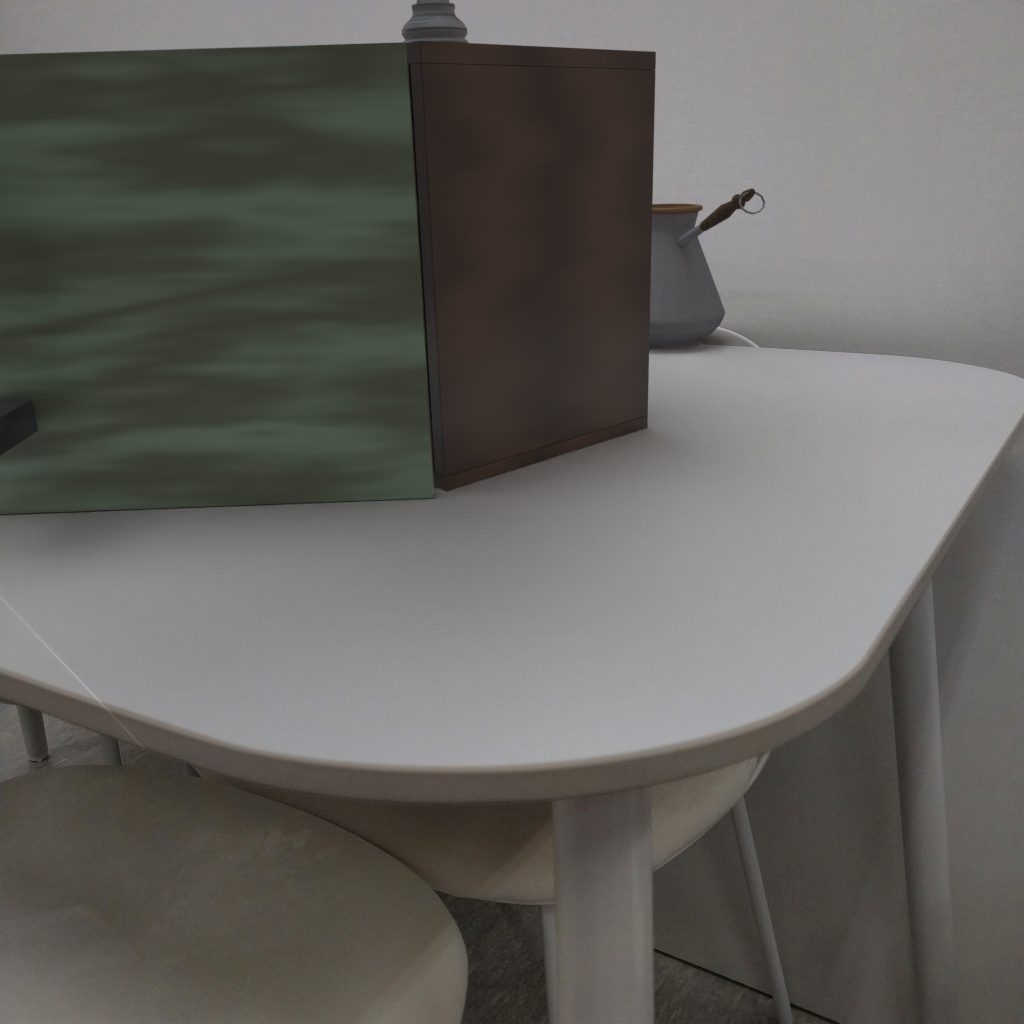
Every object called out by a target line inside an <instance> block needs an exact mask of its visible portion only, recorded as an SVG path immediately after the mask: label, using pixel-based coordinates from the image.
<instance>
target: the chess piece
mask: <svg viewBox="0 0 1024 1024" xmlns="http://www.w3.org/2000/svg"><path fill="white" fill-rule="evenodd" d="M455 4H456V3H453V2H450V0H416V3H413V4H412V5H411V11H412V14H411V17H410V19H408V21H407V22H405V24H404V25H403V27H402V29H401V36H402V37H403V39H404V41H402V42H405V43H409V42H416V41H436V42H457V43H469V41H468V39H466V37H467V35H468V28H467V26H466V25H465V23H464V22H463V21H462V20H461V19H460V18H458V17H457V15H456V12H455V10H456V5H455Z"/></svg>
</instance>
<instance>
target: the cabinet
mask: <svg viewBox="0 0 1024 1024" xmlns="http://www.w3.org/2000/svg"><path fill="white" fill-rule="evenodd" d="M406 44H407V47H408V63H409V79H410V95H411V111H412V128H413V144H414V160H415V176H416V193H417V209H418V225H419V241H420V257H421V274H422V290H423V306H424V322H425V339H426V355H427V371H428V387H429V403H430V420H431V436H432V452H433V468H434V485H435V489H437V490H441V491H443V492H446V493H447V492H450V491H453V490H456V489H459V488H463V487H466V486H468V485H472V484H475V483H478V482H481V481H485V480H487V479H490V478H494V477H497V476H500V475H504V474H507V473H510V472H513V471H517V470H520V469H522V468H525V467H528V466H531V465H535V464H538V463H541V462H545V461H548V460H550V459H554V458H557V457H560V456H563V455H567V454H569V453H573V452H576V451H579V450H583V449H585V448H589V447H593V446H595V445H598V444H601V443H605V442H608V441H611V440H615V439H617V438H620V437H622V436H623V437H624V436H627V435H629V434H633V433H636V432H640V431H643V430H646V429H648V423H649V422H648V421H649V420H648V419H649V416H648V414H649V381H650V379H649V378H650V377H649V376H650V348H649V337H650V292H651V248H652V204H653V203H654V202H653V198H654V197H653V196H654V195H653V194H654V156H655V155H654V153H655V151H654V150H655V114H656V113H655V109H656V107H655V106H656V68H657V63H656V62H657V52H656V51H648V50H626V49H607V48H604V49H602V48H587V47H586V48H584V47H583V48H582V47H564V46H563V47H562V46H543V45H542V46H541V45H540V46H539V45H522V44H521V45H518V44H517V45H516V44H498V43H497V44H495V43H479V42H477V43H476V42H468V43H457V42H436V41H416V42H409V43H406Z"/></svg>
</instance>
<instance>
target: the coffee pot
mask: <svg viewBox="0 0 1024 1024" xmlns="http://www.w3.org/2000/svg"><path fill="white" fill-rule="evenodd" d="M755 195H756V196H758V197H760V199H761V201H762V207H761V208H760V209H758V210H757V211H755V212H753V211H749V210H747V209H746V208H745V206H746V203H748V202H750V201H751V200H752V198H753V197H754V196H755ZM765 205H766V200H765V198H764V196H763V195H762V194H760V193H759V192H758V191H757V192H756V190H755V188H748V189H746V190H743V191H742V192H741V194H740V193H737V194H734V195H733V196H732V197H731V200H730V201H727V202H724V203H722V204H720V205H719V206H718V207H717V208H716V209H715V210H713V211H712V212H711V213H710V214H709V215H708V216H707V217H705V218H704V219H703V220H702V221H701V222H700V223H699V224H698V225H696V224H697V220H698V215H699V212H701V211H702V210H703V209H704V207H703V205H702V204H695V203H654V204H653V203H652V248H651V292H650V337H649V349H660V350H661V349H664V350H665V349H669V350H670V349H685V348H692V347H696V346H699V345H701V344H703V343H705V338H706V337H708V336H710V335H712V334H713V333H714V332H715V331H716V330H717V329H718V328H719V327H720V325H721V324H722V322H723V319H724V317H725V316H726V311H725V307H724V304H723V302H722V299H721V296H720V295H719V290H718V288H717V286H716V283H715V281H714V277H713V275H712V272H711V269H710V267H709V264H708V261H707V258H706V255H705V253H704V250H703V248H702V245H701V243H700V240H699V236H700V235H702V234H703V233H704V232H707V231H709V230H711V229H712V228H714V227H716V226H717V225H719V224H721V223H722V222H725V221H727V219H729V218H731V217H732V215H733V214H734V213H735V212H736V211H737V210H741V211H743V212H744V213H746V214H749V215H757V214H758V213H761V212H762V211H763V209H765Z"/></svg>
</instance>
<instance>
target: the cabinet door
mask: <svg viewBox="0 0 1024 1024" xmlns="http://www.w3.org/2000/svg"><path fill="white" fill-rule="evenodd" d="M435 492H436V488H435V485H434V468H433V452H432V436H431V420H430V403H429V387H428V371H427V355H426V339H425V322H424V306H423V290H422V274H421V257H420V241H419V225H418V209H417V193H416V176H415V160H414V144H413V128H412V111H411V95H410V79H409V63H408V47H407V44H406V43H405V42H403V41H402V42H401V41H400V42H372V43H371V42H370V43H368V42H367V43H338V44H336V43H335V44H304V45H303V44H302V45H270V46H265V45H264V46H235V47H201V48H200V47H199V48H197V47H196V48H173V49H172V48H167V49H166V48H165V49H164V48H163V49H162V48H161V49H138V50H137V49H135V50H133V49H132V50H100V51H97V50H95V51H66V52H65V51H63V52H34V53H33V52H31V53H0V515H20V514H45V513H71V512H72V513H73V512H97V511H123V510H124V511H125V510H126V511H127V510H128V511H129V510H151V509H177V508H204V507H205V508H207V507H230V506H231V507H233V506H256V505H280V504H281V505H282V504H283V505H285V504H286V505H287V504H311V503H334V502H335V503H336V502H361V501H362V502H363V501H388V500H389V501H391V500H412V499H413V500H415V499H434V498H435Z"/></svg>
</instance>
